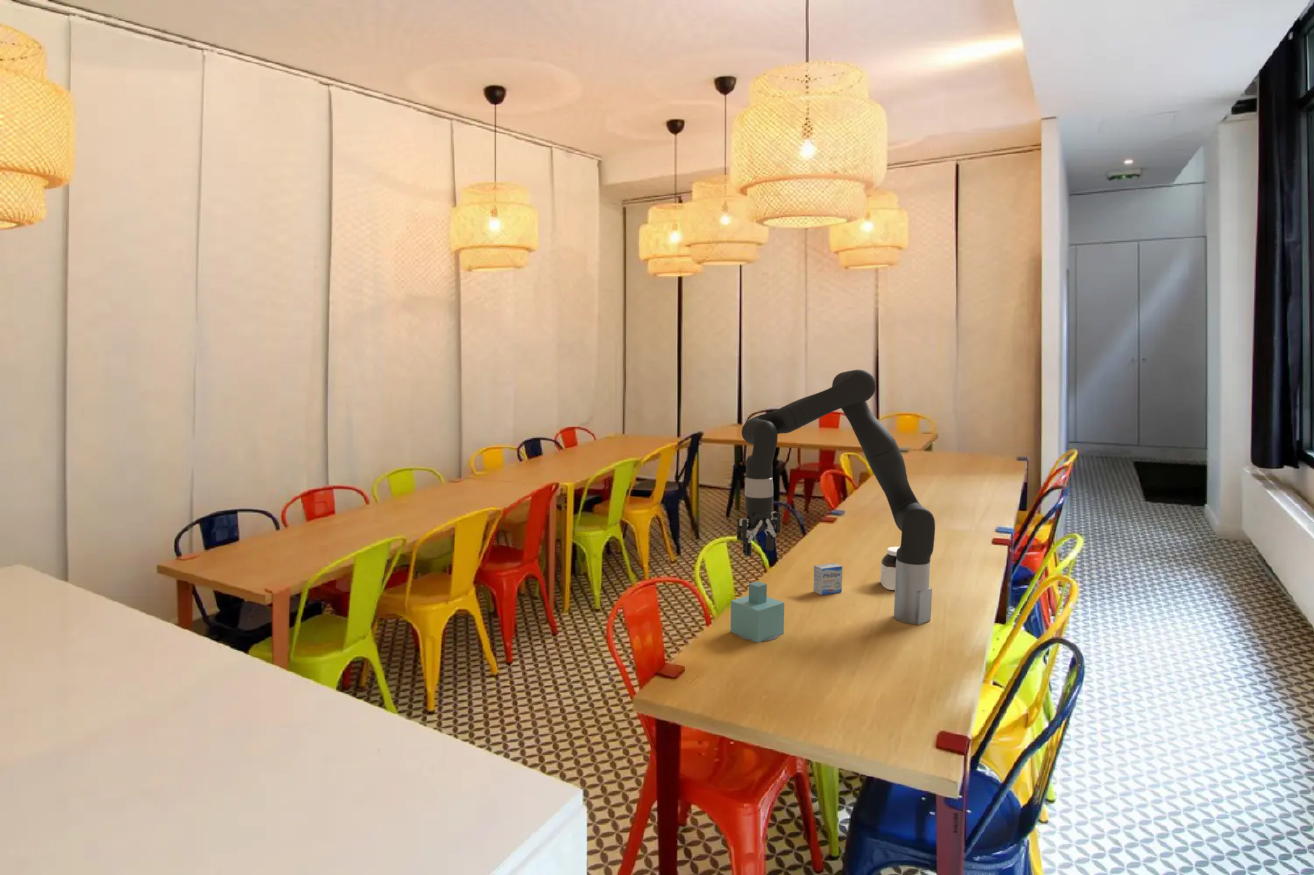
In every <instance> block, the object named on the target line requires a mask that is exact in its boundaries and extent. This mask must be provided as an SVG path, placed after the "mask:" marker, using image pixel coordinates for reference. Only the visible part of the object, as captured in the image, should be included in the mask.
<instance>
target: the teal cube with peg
mask: <svg viewBox="0 0 1314 875" xmlns="http://www.w3.org/2000/svg"><path fill="white" fill-rule="evenodd" d="M767 589H768V584H767V583H764V582H762V581H758V580H757V581H755V582H754V581H753V582H749V583H748V595H746V596H742V597H739V598H735V599H731V600H730V632H731V633H733V634H735V635H737V634H739V635H742V636H744V637H746V638H749V639H751V640H753V641H752V642H755V643H756V644H759V643H761V642H763V641H762V640H765V639H768V638H771V637H774V636H776V635H779V634H780V635H779V636H781V635H784V631H785V628H784V627H785V602H784V601H781V600H779V599H776V598H774V597H773V598H772V597H770V596H767V595H768V594H767V593H768V590H767ZM736 633H737V634H736Z"/></svg>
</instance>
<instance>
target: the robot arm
mask: <svg viewBox="0 0 1314 875" xmlns="http://www.w3.org/2000/svg"><path fill="white" fill-rule="evenodd" d="M876 390H877V382H876V379H875V377H874V375H873V374H872V373H871V372H869V371H867V370H865V369H854V370H847V371H842V372H840V373H837V375H836V376H834V378H833V380H832V384H831V387H829V388H826V389H824V390H822V391H820V392H817V393H814V394H811V395H808V396H804V397H803V398H800V399H797V400H795V401H791V402H790V403H788V404H786V405H784V406H781V407H779V408H778V409H776V410H772V411H770V412H769V411H768V412H766V413H765V412H764V413H762V414H759V415H756V416H753V417H752V418H750V419H749V420H747V421H746V422H745V423H744V424H743V425H742V427H741V436H742V439H743V441H745V442H746V443H747V444H750V445H753V446H752V447H753V448H752V451H751V454H750V455H748V456H747V457H746V461H745V462H746V463H745V482H744V511H745V512H746V517H745V518H741V517H738V519H737V525H736V540H737V541H741V542H742V553H743V555H744V556H746V557H751V556H752V541H753V538H754V537H755V536H756V535H757V534H758V533H760V532H764V533H765V534H766V536H765V549H766V550H767V551H774V548H775V537H776V536H777V534H779V535H780V534H781V519H780V518H781V517H780V516H781V514H780V512H779V511H778V512H777V511H774V481H773V469H774V466H773V461H774V457H775V454H776V449H777V444H778V436H779V435H780V434H781V435H782V434H789V433H792V432H794V431H797V429H801V428H802V427H804V426H806V425H808V424H811V423H812V422H814V421H816V420H819V419H820V418H822V417H824V416H827V415H829V414H831V413H833V412H835V411H837V410H840V409H841V411H842V412H843V414H844V416H845V417H846V419H847V420H848V422H849V424H850V426H851V428H852V431H853V433H854V434H855V437H856V439H857V441H858V443H859V445H860V447H861V449H862V451H863V454H864V456H865V459H866V460H867V463H868V464H869V467H870V470H871V471H872V473H873V476H875V479H876V480H877V483H878V484H879V486H880V487H881V489H882V492H883V493H884V495H885V497H886V500H887V503H888V505H889V508H890V510H891V515H892V517H893V520H894V523H895V525H896V527H897V528H898V530H900V531H901V537H900V538H901V540H900V546H899V547H900V548H898V549H897V553H896V576H895V590H894V600H893V602H894V604H893V618H894V619H895V620H896V621H898V622H902V623H904V624H910V625H911V624H913V625H918V626H920V625H923V624H925V623H926V622H930V621H931V618H932V601H933V600H932V599H933V598H932V597H933V596H932V595H933V589H932V587H930V578H931V577H930V576H931V575H930V574H931V559H932V558H931V557H932V555H933V553H934V546H935V535H936V534H935V533H936V521H935V516H934V515H933V513H932V512H931V511H930V510H929V509H927V508H926V507H924V505H923V506H922V504H921V503H920V502H919V500H918V499H917V497H916V495H915V493H914V491H913V490H912V488H911V486H910V483H909V480H908V474H907V468H906V464H905V460H904V457H903V454H902V452H901V450H900V447H899V446H898V443H897V441H896V439H895V438H894V436H893V435H892V434H891V433H892V432H890V431H889V430H888V429H887V428H886V427H885V426H884V425H883V424H882V422H880V421H879V419H878V418H877V417H875V415H874V414H873V412H872V411H871V408H870V407H869V405H868V400H870V399H871V398H872V397H873V396H874V394H875V393H876Z"/></svg>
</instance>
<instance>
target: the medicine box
mask: <svg viewBox="0 0 1314 875" xmlns="http://www.w3.org/2000/svg"><path fill="white" fill-rule="evenodd" d="M842 590H843V566H842V565H840V564H838V563H837V562H834V563H825V564H816V565H813V592H814V593H816V594H818V595H820V596H827V595H826V594H828V595H833V594H840V592H841V593H842V592H843V591H842Z"/></svg>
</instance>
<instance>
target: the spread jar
mask: <svg viewBox="0 0 1314 875" xmlns="http://www.w3.org/2000/svg"><path fill="white" fill-rule="evenodd" d="M898 548H900V546H891V547H890V546H889V547H887V549H886V551H887V553H886V554H885V555H884V556H883V557H882V559H881V563H880V576H879V577H880V579H879V580H880V584H881V585H882V587H884V588H885V589H886V590H890V591H895V576H896V553H897V549H898Z"/></svg>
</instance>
